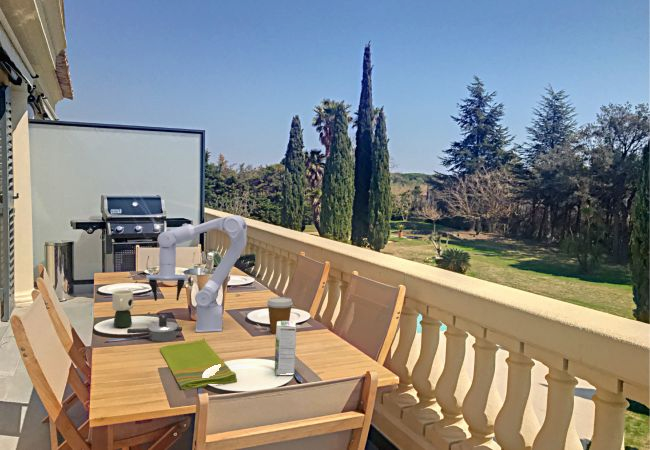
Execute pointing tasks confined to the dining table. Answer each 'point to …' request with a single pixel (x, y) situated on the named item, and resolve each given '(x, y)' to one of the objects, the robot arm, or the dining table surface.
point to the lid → (162, 325)
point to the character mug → (122, 307)
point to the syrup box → (285, 347)
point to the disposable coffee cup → (278, 311)
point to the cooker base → (157, 334)
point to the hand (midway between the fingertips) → (166, 300)
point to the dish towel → (195, 364)
